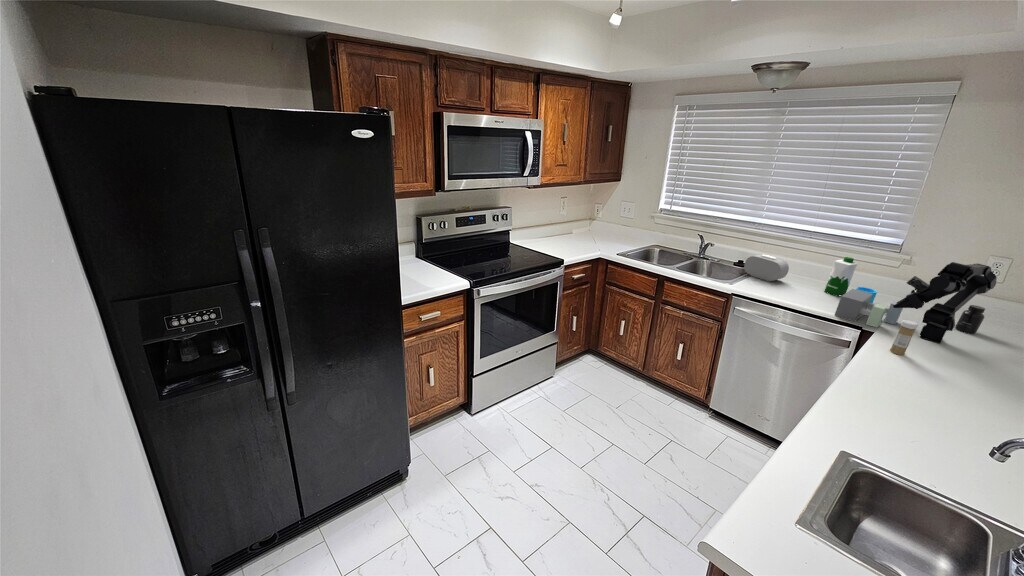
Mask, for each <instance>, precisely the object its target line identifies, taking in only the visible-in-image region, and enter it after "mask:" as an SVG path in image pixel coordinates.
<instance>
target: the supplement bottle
mask: <svg viewBox="0 0 1024 576" xmlns="http://www.w3.org/2000/svg"><path fill="white" fill-rule="evenodd" d="M985 310H986V308H984V307H982V306H979V305H975V304H970V305H969V306H968V308H967V309H966V310H963V311H962V313H961V315H960V316H959V318H958V321H957V322H956V323H955V326H954V328H955V329H956V330H957V331H958V332H961V333H964V332H965V334H968V333H969V335H975V334H976V333H977V332H978V330H979V329H980V327H981V324H982V323H983V321H984V319H985V314H984V313H985Z"/></svg>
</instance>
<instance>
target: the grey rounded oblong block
mask: <svg viewBox="0 0 1024 576" xmlns="http://www.w3.org/2000/svg"><path fill="white" fill-rule="evenodd" d="M743 268H744V271H745V273H747V274H748V275H749V276H750V277H754V278H757V279H760V280H763V281H766V282H773V281H777V280H781V279H784V278H785V277H786V276H787V275H788V273H789V269H790V268H789V263H788V262H787V261H785V260H784V259H781V258H777V257H775V256H771V255H768V254H755V255H752V256H748V257H747V258H746V260H745V262H744V267H743Z"/></svg>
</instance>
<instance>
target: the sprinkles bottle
mask: <svg viewBox="0 0 1024 576" xmlns="http://www.w3.org/2000/svg"><path fill="white" fill-rule="evenodd" d="M918 326H919V325H918V323H917V322H915V321H913V320H908V319H907V320H906V319H905V320H904V319H903V320H902V321H901V323H900V327H899V329H898V331H897V333H896V336H895V337H894V340H893V342H892V345H891V347H890V349H889V351H890V352H891V353H893V354H895V355H899V356H904V355H906V351H907V349H908V347H909V345H910V343H911V341H912V338H913V336H914V333H915V330H917V328H918Z"/></svg>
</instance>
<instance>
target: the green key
mask: <svg viewBox="0 0 1024 576" xmlns="http://www.w3.org/2000/svg"><path fill="white" fill-rule="evenodd" d="M874 304H875V303H874ZM887 308H888V306H886V305H881V304H878V303H876V304H875V305H874V306H873V308H872V309H868V308H867V309H864V308H860V311H859V313H861V314H864V315H865V316H868V318H867V321H866V323H865V324H866V325H868V326H870V327H874V328H878V327H880V325H881V323H882V321H883V318H884V317H885V315H886V314H885V311H886V309H887Z"/></svg>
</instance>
